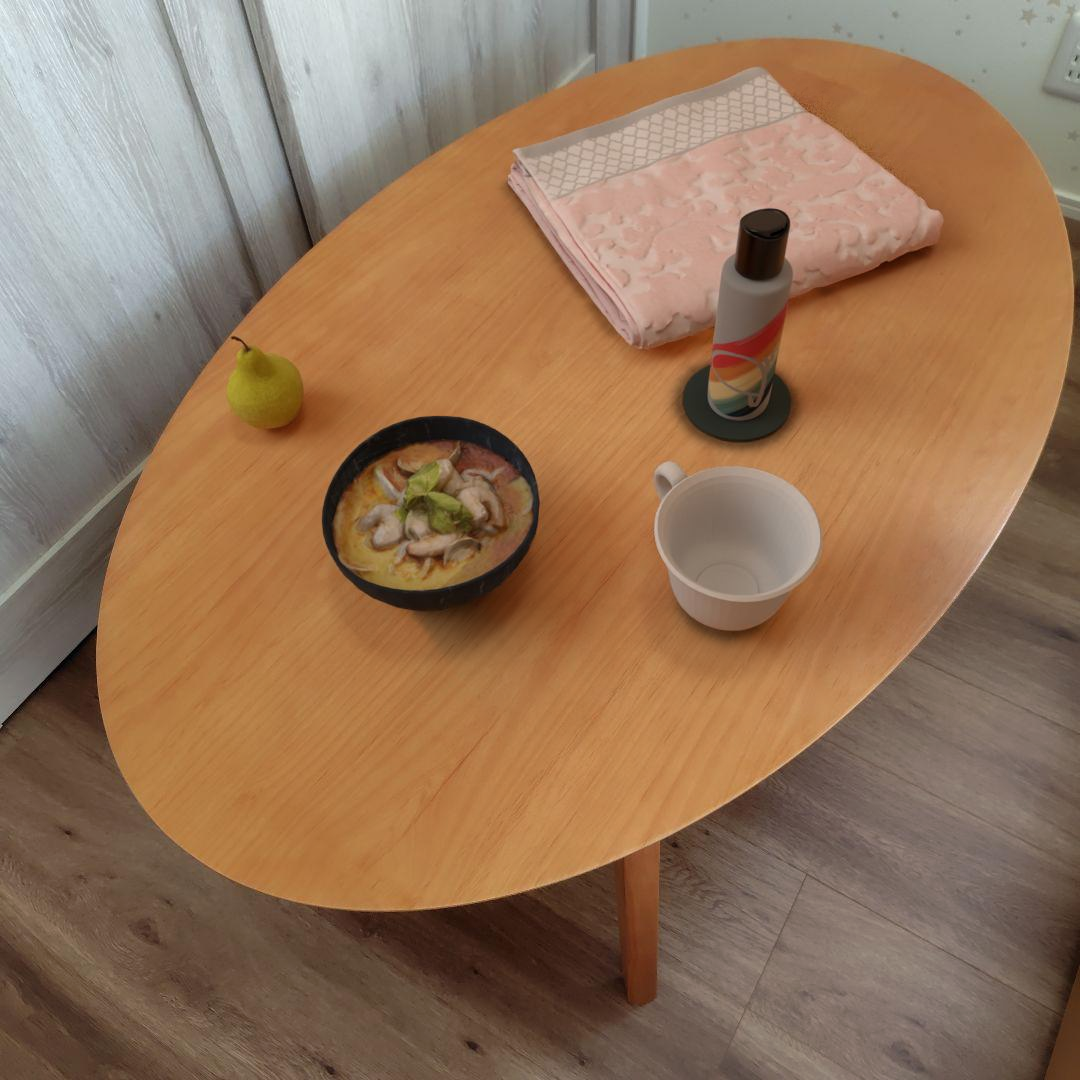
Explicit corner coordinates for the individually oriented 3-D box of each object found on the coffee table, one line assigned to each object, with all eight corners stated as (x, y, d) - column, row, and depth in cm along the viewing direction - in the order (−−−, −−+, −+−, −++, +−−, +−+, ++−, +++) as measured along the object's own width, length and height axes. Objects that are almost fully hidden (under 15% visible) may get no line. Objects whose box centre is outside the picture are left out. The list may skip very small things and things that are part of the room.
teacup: (709, 494, 82) (719, 417, 74) (833, 612, 75) (859, 540, 67) (598, 564, 79) (596, 492, 71) (717, 695, 71) (730, 630, 63)
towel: (764, 98, 116) (770, 52, 112) (942, 255, 98) (958, 207, 93) (500, 185, 110) (495, 140, 105) (637, 371, 91) (639, 327, 86)
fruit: (256, 387, 93) (214, 293, 84) (322, 393, 92) (287, 298, 83) (232, 440, 90) (184, 347, 80) (299, 447, 89) (260, 353, 79)
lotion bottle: (730, 431, 86) (757, 251, 69) (694, 392, 89) (712, 211, 72) (781, 406, 87) (819, 224, 71) (744, 369, 90) (773, 186, 74)
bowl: (336, 656, 76) (302, 591, 67) (355, 487, 85) (328, 413, 77) (548, 646, 75) (540, 578, 67) (543, 477, 85) (535, 400, 76)
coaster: (755, 350, 92) (755, 347, 92) (811, 419, 86) (812, 416, 86) (663, 384, 90) (663, 381, 90) (715, 456, 85) (716, 453, 84)
